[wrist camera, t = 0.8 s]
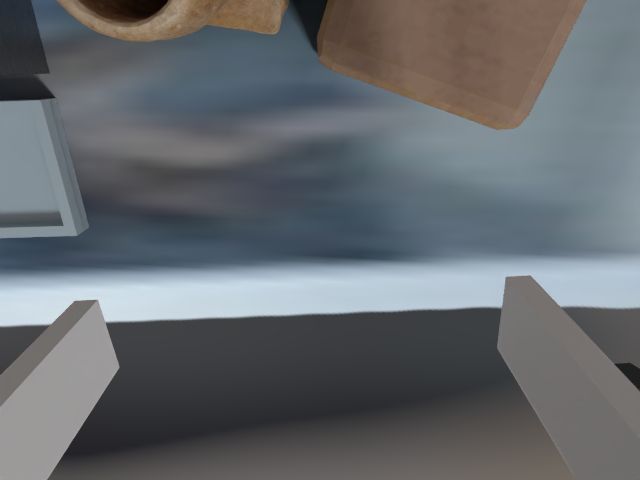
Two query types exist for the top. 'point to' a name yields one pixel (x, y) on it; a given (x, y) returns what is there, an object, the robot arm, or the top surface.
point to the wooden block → (451, 51)
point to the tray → (37, 173)
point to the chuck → (20, 40)
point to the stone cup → (174, 16)
